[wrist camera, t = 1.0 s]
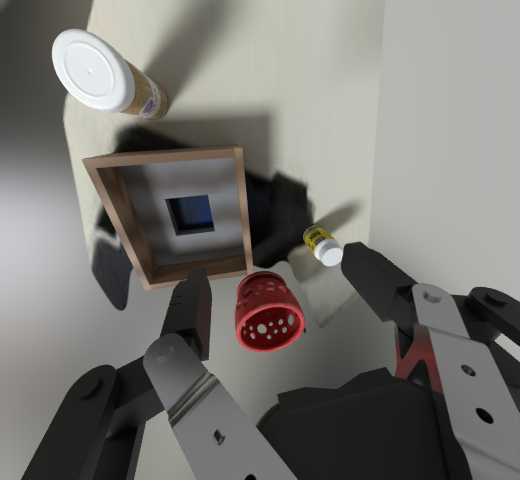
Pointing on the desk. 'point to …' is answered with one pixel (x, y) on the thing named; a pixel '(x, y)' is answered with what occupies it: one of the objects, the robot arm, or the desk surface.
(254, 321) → the plant pot
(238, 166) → the wooden box
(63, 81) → the sprinkles bottle
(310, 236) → the supplement bottle
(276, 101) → the desk surface
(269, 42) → the desk surface
